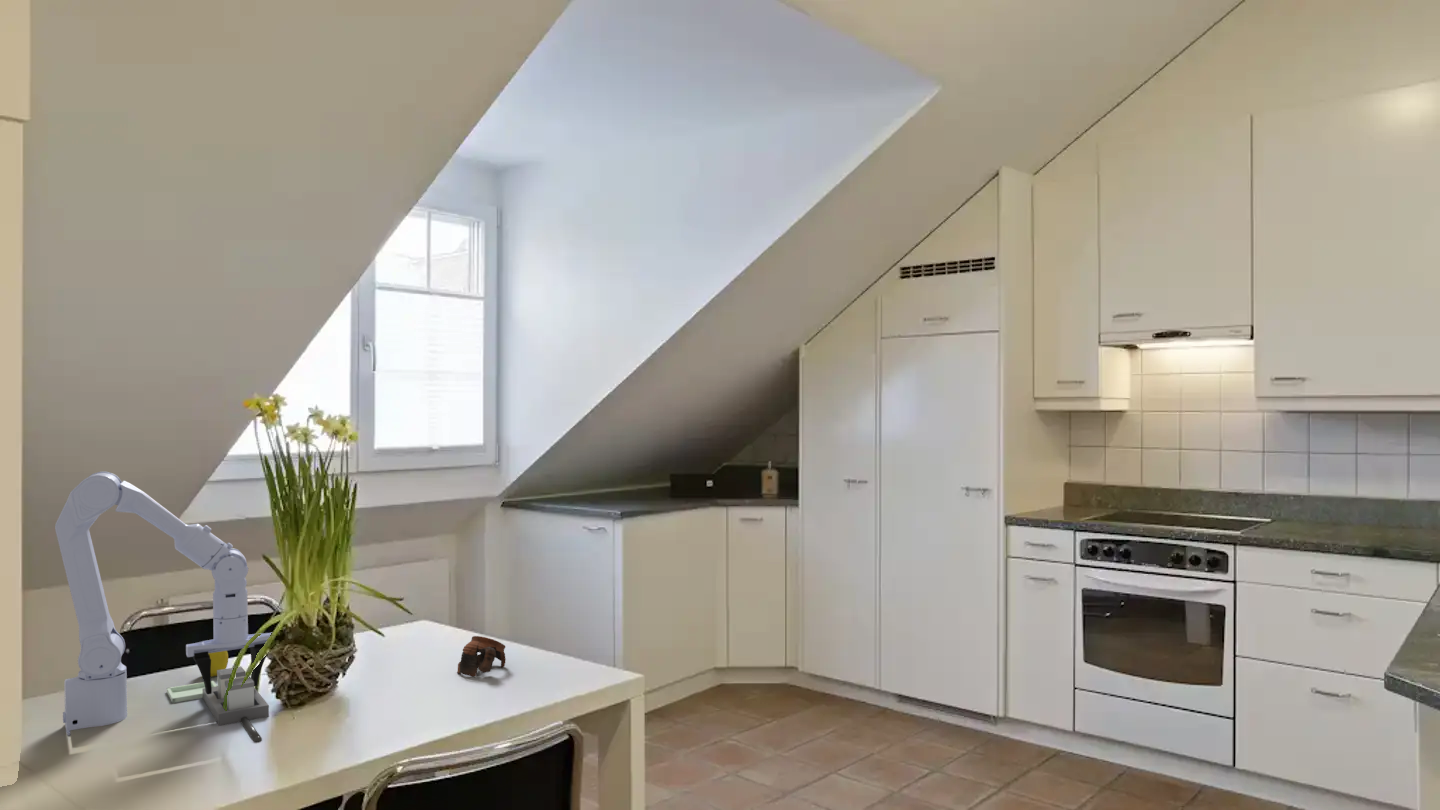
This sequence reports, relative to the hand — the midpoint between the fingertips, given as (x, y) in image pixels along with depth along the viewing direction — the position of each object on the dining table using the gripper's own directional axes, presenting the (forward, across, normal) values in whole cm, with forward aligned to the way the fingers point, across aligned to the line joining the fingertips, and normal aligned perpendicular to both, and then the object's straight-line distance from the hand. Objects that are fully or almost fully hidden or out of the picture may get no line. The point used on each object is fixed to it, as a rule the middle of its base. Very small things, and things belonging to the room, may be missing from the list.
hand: (231, 688), depth 181 cm
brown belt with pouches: (+4, -46, +7) cm, 47 cm away
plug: (+3, 0, 0) cm, 3 cm away
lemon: (+3, 0, -21) cm, 21 cm away
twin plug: (+3, 0, +8) cm, 8 cm away
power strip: (+3, 0, +9) cm, 10 cm away
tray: (+3, +5, -10) cm, 12 cm away
